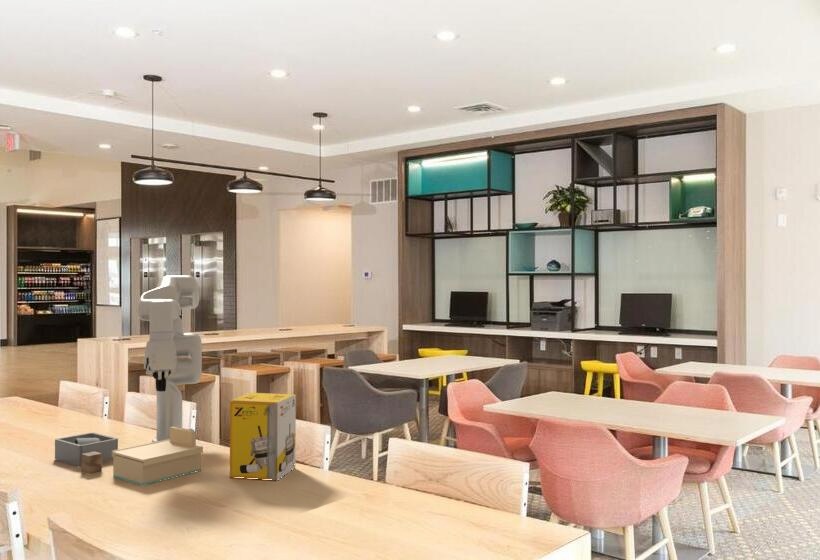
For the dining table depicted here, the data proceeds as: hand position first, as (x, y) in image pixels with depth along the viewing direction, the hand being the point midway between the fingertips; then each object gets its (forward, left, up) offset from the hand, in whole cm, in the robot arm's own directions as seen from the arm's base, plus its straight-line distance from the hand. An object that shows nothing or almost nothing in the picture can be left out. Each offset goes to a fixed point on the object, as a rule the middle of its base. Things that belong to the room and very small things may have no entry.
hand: (160, 390), depth 259 cm
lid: (+7, +8, -19) cm, 22 cm away
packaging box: (-15, +34, -26) cm, 45 cm away
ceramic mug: (+10, -29, -26) cm, 40 cm away
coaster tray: (+11, -28, -25) cm, 39 cm away
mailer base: (+7, +8, -25) cm, 28 cm away
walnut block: (+19, -11, -26) cm, 33 cm away
